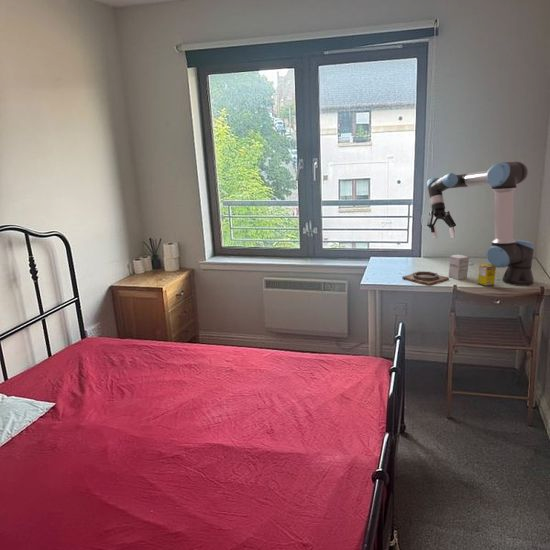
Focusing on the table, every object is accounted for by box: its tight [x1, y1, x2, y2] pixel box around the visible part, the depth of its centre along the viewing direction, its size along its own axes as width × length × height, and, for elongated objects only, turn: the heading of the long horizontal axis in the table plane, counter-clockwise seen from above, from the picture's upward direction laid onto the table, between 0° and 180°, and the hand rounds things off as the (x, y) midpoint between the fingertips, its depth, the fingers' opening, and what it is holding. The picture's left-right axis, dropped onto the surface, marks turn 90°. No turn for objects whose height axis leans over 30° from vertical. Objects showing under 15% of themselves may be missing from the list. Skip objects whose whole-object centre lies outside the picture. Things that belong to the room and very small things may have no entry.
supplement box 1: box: [448, 254, 470, 281], centre depth 280 cm, size 7×7×13 cm
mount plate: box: [402, 270, 450, 286], centre depth 279 cm, size 18×18×3 cm
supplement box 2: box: [477, 263, 497, 287], centre depth 265 cm, size 6×6×11 cm
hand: (444, 237), depth 291 cm, fingers open, 13 cm apart
